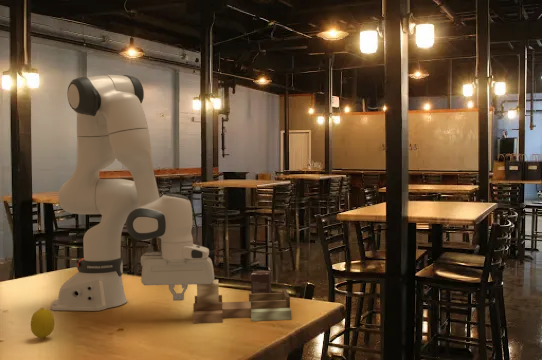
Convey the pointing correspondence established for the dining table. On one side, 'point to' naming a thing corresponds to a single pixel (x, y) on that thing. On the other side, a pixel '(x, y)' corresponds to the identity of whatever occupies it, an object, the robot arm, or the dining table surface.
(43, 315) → the lemon
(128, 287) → the dining table surface
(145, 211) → the robot arm
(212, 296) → the block
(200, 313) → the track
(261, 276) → the box
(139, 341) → the dining table surface
